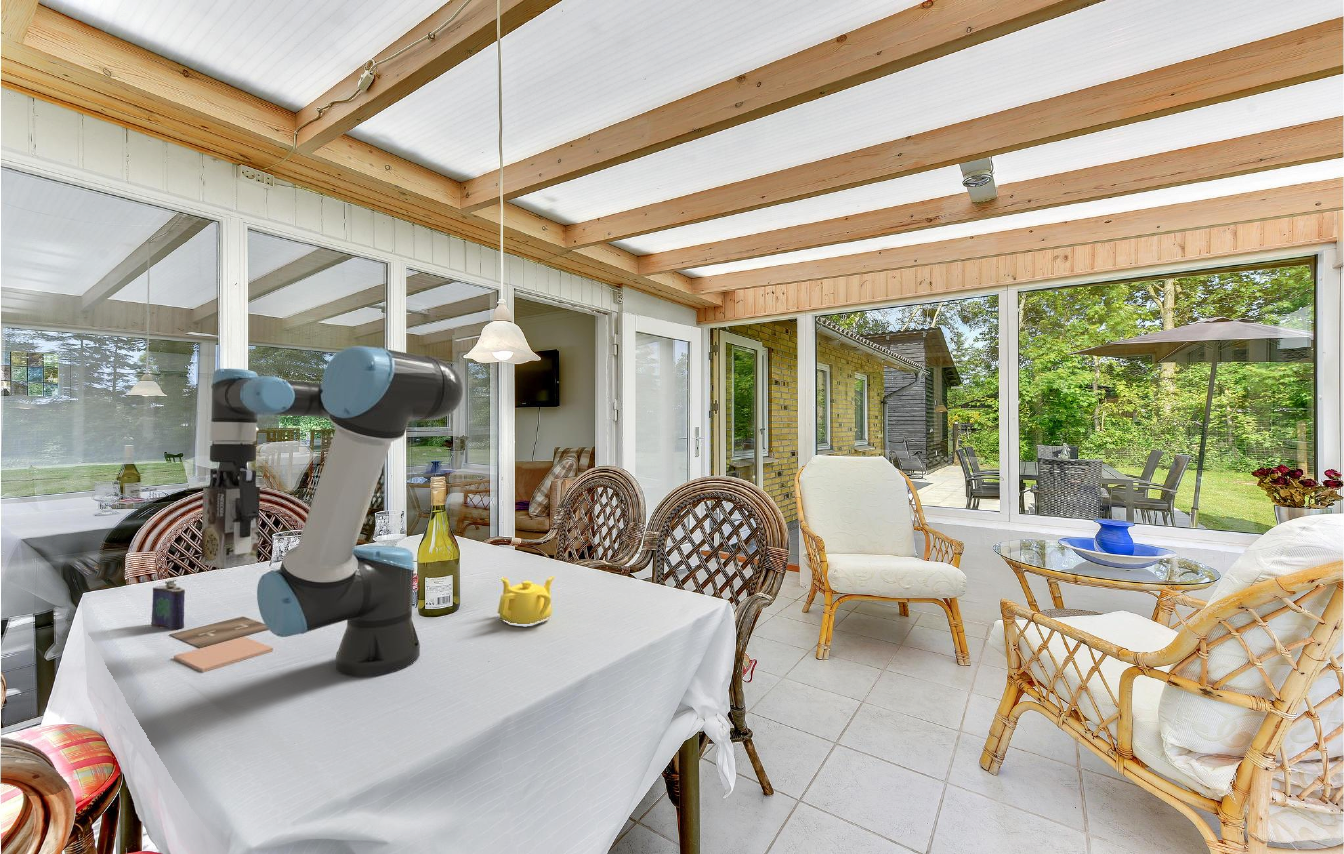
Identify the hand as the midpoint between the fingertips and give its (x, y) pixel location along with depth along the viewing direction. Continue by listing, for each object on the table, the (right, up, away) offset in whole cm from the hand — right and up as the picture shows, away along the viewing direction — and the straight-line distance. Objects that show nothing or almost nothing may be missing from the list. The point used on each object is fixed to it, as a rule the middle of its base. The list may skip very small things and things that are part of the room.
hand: (230, 550), depth 112 cm
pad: (0, -21, -2) cm, 21 cm away
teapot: (+55, -23, +24) cm, 65 cm away
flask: (-25, -21, +13) cm, 35 cm away
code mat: (-10, -21, +10) cm, 25 cm away
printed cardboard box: (0, -3, 0) cm, 3 cm away
